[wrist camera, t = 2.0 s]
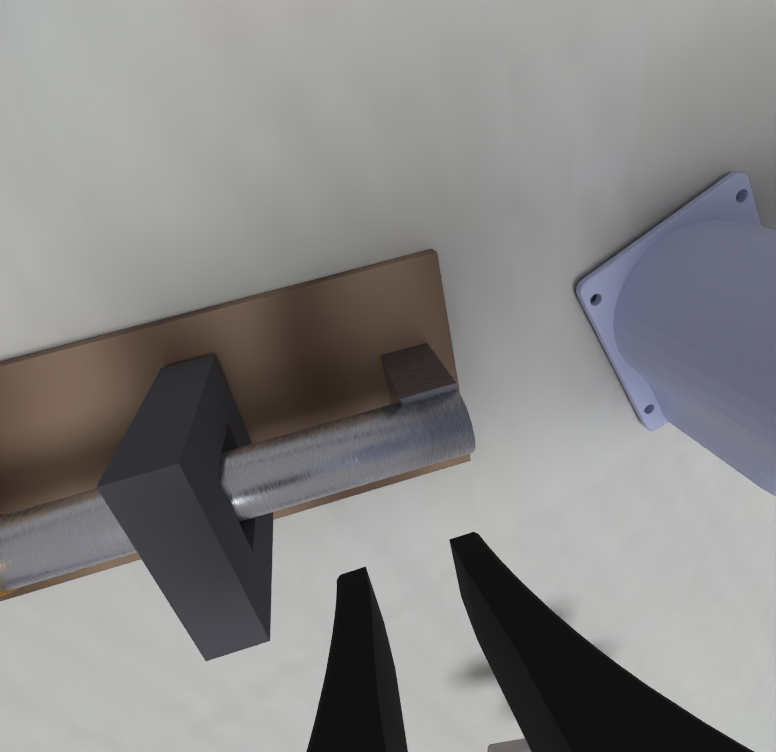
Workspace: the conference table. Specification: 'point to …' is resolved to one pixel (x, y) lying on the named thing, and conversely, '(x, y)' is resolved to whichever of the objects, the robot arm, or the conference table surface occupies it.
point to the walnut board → (241, 371)
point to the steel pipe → (265, 471)
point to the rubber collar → (193, 509)
